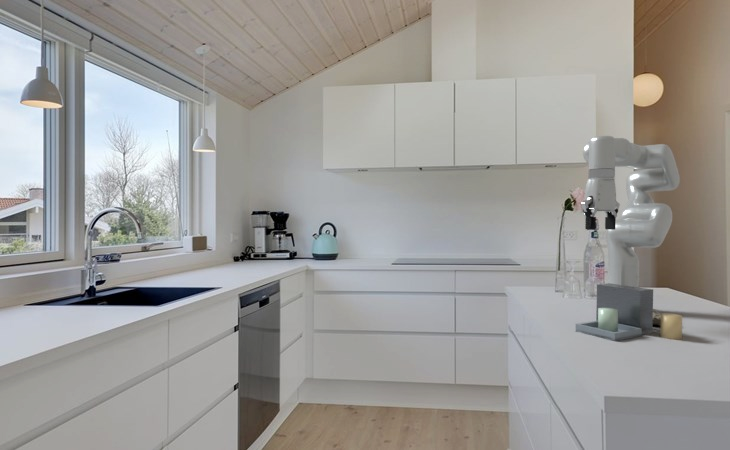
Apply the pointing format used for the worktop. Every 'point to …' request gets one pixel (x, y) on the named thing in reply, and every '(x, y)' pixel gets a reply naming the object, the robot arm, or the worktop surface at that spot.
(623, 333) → the tray
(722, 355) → the worktop surface
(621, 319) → the panel
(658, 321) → the rock
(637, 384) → the worktop surface
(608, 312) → the mint green rounded cylinder
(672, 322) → the tan rounded capsule
